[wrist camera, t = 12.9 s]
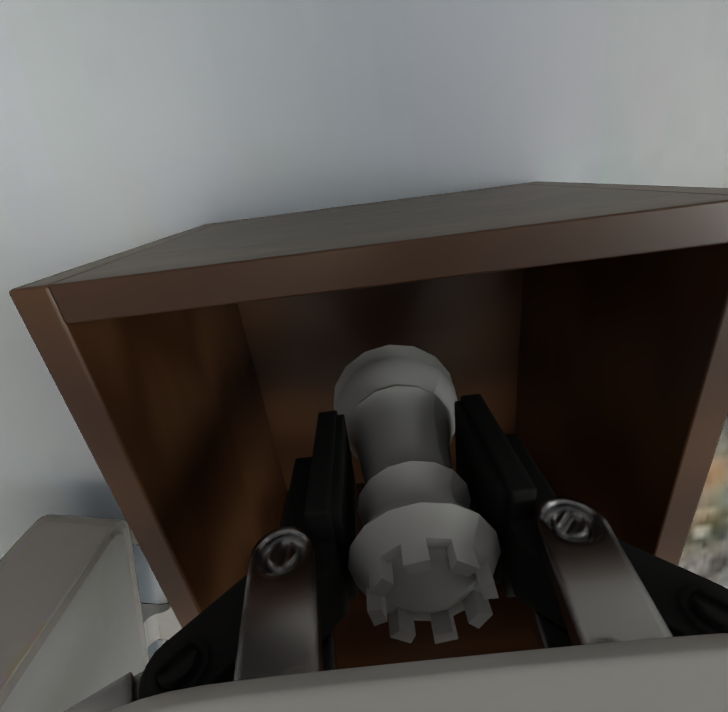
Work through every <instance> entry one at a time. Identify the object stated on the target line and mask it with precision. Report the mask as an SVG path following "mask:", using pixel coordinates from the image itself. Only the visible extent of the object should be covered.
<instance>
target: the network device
mask: <svg viewBox="0 0 728 712" xmlns="http://www.w3.org/2000/svg"><path fill="white" fill-rule="evenodd" d="M132 545H139V544H138V542H137V540H136V538H135V536H134V534H133V532H132V530H131V529H130V527H129V525H128V523H127V521H125V520H118V519H105V518H92V517H79V516H67V515H54V514H50V515H46V516H43V517H41V518H40V519H38V520H37V521H36V522H35V523H34V524H33V525H32V526H31V527H30V528H29V529H28V530H27V531H26V532H25V533H24V535H23V536H22V537H21V538H20V539H19V540H18V541H17V542H16V543H15V544H14V545H13V547H12V548H11V549H10V550H9V551H8V552H7V553H6V554H5V555H4V556H3V558H2V559H1V560H0V712H64V711H65V710H67V709H69V708H70V707H72V706H74V705H75V704H77V703H79V702H80V701H82V700H84V699H85V698H87V697H89V696H90V695H92V694H94V693H96V692H97V691H99V690H101V689H102V688H104V687H106V686H107V685H109V684H111V683H112V682H114V681H116V680H117V679H119V678H121V677H122V676H124V675H126V674H127V673H129V672H132V674H133V676H135V675H137V674H139V673H140V672H142V671H144V669H145V667H146V665H147V664H148V662H149V656H148V650H147V649H148V647H149V646H150V645H151V644H152V643H153V642H155V641H156V640H159V639H164V640H167V641H168V640H169V639H170V638H171V637H172V636H174V635H175V634H176V633H177V632H178V631H180V630H181V629H182V627H181V625H180V623H179V622H178V620H177V618H176V616H175V614H174V612H173V610H172V608H171V606H170V604H169V603H167V604H162V605H157V604H141V603H140V596H139V589H138V583H137V576H136V569H135V563H134V556H133V549H132Z"/></svg>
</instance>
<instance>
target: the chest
mask: <svg viewBox="0 0 728 712" xmlns="http://www.w3.org/2000/svg"><path fill="white" fill-rule="evenodd" d="M9 294H10V296H11V298H12V300H13V302H14V304H15V306H16V308H17V310H18V312H19V314H20V315H21V317H22V319H23V321H24V323H25V325H26V327H27V329H28V331H29V333H30V335H31V337H32V339H33V341H34V343H35V345H36V346H37V348H38V350H39V352H40V354H41V356H42V358H43V360H44V362H45V364H46V366H47V368H48V370H49V372H50V374H51V376H52V377H53V379H54V381H55V383H56V385H57V387H58V389H59V391H60V393H61V395H62V397H63V399H64V401H65V403H66V405H67V407H68V408H69V410H70V412H71V414H72V416H73V418H74V420H75V422H76V424H77V426H78V428H79V430H80V432H81V434H82V436H83V438H84V439H85V441H86V443H87V445H88V447H89V449H90V451H91V453H92V455H93V457H94V459H95V461H96V463H97V465H98V467H99V469H100V470H101V472H102V474H103V476H104V478H105V480H106V482H107V484H108V486H109V488H110V490H111V492H112V494H113V496H114V498H115V499H116V501H117V503H118V505H119V507H120V509H121V511H122V513H123V515H124V517H125V519H126V521H127V523H128V525H129V527H130V529H131V530H132V532H133V534H134V536H135V538H136V540H137V542H138V544H139V546H140V548H141V550H142V552H143V554H144V556H145V558H146V560H147V561H148V563H149V565H150V567H151V569H152V571H153V573H154V575H155V577H156V579H157V581H158V583H159V585H160V587H161V589H162V591H163V592H164V594H165V596H166V598H167V600H168V602H169V604H170V606H171V608H172V610H173V612H174V614H175V616H176V618H177V620H178V622H179V623H180V625H181V627H182V628H183V627H184V626H186V625H187V624H188V623H189V622H190V621H192V620H193V619H194V618H195V617H196V616H198V615H199V614H200V613H201V612H202V611H204V610H205V609H206V608H207V607H208V606H209V605H211V604H212V603H213V602H214V601H215V600H217V599H218V598H219V597H220V596H221V595H223V594H224V593H225V592H226V591H227V590H229V589H230V588H231V587H232V586H233V585H235V584H236V583H237V582H238V581H239V580H241V579H242V578H243V577H244V576H245V575H247V572H248V564H249V558H250V555H251V551H252V549H253V548H254V546H255V545H256V543H257V542H258V541H259V540H260V539H261V538H262V537H263V536H264V535H266V534H267V533H269V532H271V531H272V530H275V529H278V528H281V527H282V522H283V517H284V512H285V507H286V502H287V497H288V492H289V487H290V482H291V477H292V472H293V467H294V463H295V460H296V458H302V457H311V456H312V454H313V447H314V440H315V433H316V426H317V419H318V413H319V412H326V411H335V410H334V392H335V385H336V383H337V382H338V380H339V378H340V376H341V374H342V373H343V371H344V369H345V367H346V366H347V365H349V364H350V363H351V362H353V361H354V360H355V359H356V358H358V357H359V356H360V355H361V354H363V353H364V352H366V351H370V350H373V349H376V348H380V347H383V346H386V345H401V346H414V347H416V348H419V349H421V350H423V351H425V352H427V353H429V354H431V355H433V356H435V357H436V358H437V359H438V360H439V361H440V362H441V364H442V365H443V366H444V367H445V368H446V369H447V371H448V372H449V373H450V376H451V380H452V384H453V386H454V388H455V392H456V396H457V400H458V401H460V398H461V396H464V395H472V394H481V396H482V397H483V399H484V401H485V402H486V404H487V406H488V407H489V409H490V411H491V412H492V414H493V416H494V417H495V419H496V421H497V423H498V424H499V426H500V428H501V429H502V431H503V433H504V434H516V435H517V436H518V437H519V438H520V440H521V441H522V443H523V444H524V446H525V448H526V449H527V451H528V452H529V454H530V455H531V457H532V459H533V460H534V462H535V463H536V465H537V466H538V468H539V469H540V471H541V473H542V474H543V476H544V477H545V479H546V480H547V482H548V484H549V485H550V487H551V488H552V490H553V491H554V493H555V494H556V496H557V497H571V498H574V499H578V500H581V501H583V502H585V503H587V504H589V505H591V506H593V507H594V508H595V509H596V510H598V511H599V512H600V513H601V514H602V515H603V516H604V518H605V519H606V520H607V522H608V524H609V525H610V527H611V529H612V531H613V532H614V534H615V536H616V538H617V539H619V540H621V541H624V542H626V543H628V544H630V545H632V546H635V547H637V548H639V549H641V550H643V551H646V552H648V553H650V554H652V555H655V556H657V557H659V558H661V559H663V560H666V561H668V562H670V563H672V564H674V565H677V566H678V564H679V561H680V558H681V555H682V551H683V548H684V545H685V542H686V539H687V536H688V533H689V530H690V527H691V524H692V521H693V518H694V515H695V512H696V509H697V506H698V503H699V500H700V496H701V493H702V490H703V487H704V484H705V481H706V478H707V475H708V472H709V469H710V466H711V463H712V460H713V457H714V454H715V451H716V448H717V444H718V441H719V438H720V435H721V432H722V429H723V426H724V423H725V420H726V417H727V414H728V188H706V187H678V186H650V185H622V184H594V183H566V182H531V183H523V184H516V185H508V186H500V187H492V188H484V189H477V190H469V191H461V192H453V193H445V194H438V195H430V196H422V197H414V198H406V199H399V200H391V201H383V202H375V203H368V204H360V205H352V206H344V207H336V208H329V209H321V210H313V211H305V212H297V213H290V214H282V215H274V216H266V217H258V218H251V219H243V220H235V221H227V222H219V223H212V224H205V225H202V226H199V227H196V228H193V229H190V230H187V231H184V232H181V233H178V234H175V235H172V236H169V237H166V238H163V239H160V240H157V241H154V242H151V243H148V244H145V245H142V246H139V247H136V248H133V249H130V250H127V251H124V252H121V253H118V254H115V255H112V256H109V257H106V258H103V259H100V260H97V261H94V262H91V263H88V264H85V265H82V266H79V267H76V268H73V269H70V270H67V271H64V272H61V273H58V274H55V275H52V276H50V277H47V278H44V279H41V280H38V281H35V282H32V283H29V284H26V285H23V286H20V287H17V288H14V289H12V290H10V291H9ZM449 449H450V456H451V463H452V469H453V470H454V471H455V472H456V447H455V433H454V435H453V436H452V439H451V444H450V445H449ZM350 452H351V458H352V464H353V470H354V476H355V483H356V494H357V511H358V502H359V494H360V493H361V491H362V490H363V488H364V487H365V483H364V478H363V473H362V469H361V465H360V461H359V460H358V459H357V458H356V457H355V456H354V455H353V453H352V451H351V450H350ZM363 527H364V525H363V523H362V521H361V519H360V516H359V514H358V512H357V535H358V534H359V533H360V531H361V530H362V528H363ZM495 586H496V590H497V593H498V597H499V598H495V599H488V601H489V604H490V607H491V610H492V613H493V615H492V616H491V617H490V618H489V619H488V620H487V621H486V622H485V623H484V624H483V625H482V626H481V627H480V628H479V629H478V628H476V627H475V626H473V625H471V624H469V623H468V619H467V615H466V612H465V610H464V611H462V612H460V613H458V614H456V615H454V616H453V617H454V622H455V626H456V630H457V635H458V639H456V640H451V641H447V642H442V643H437V644H435V641H434V636H433V630H432V624H431V621H415V620H414V625H415V632H416V636H415V638H414V639H413V641H412V643H408V642H404V641H401V640H397V639H394V638H391V637H390V630H389V618H388V614H387V622H385V623H382V624H379V625H376V626H374V624H373V622H372V620H371V618H370V616H369V614H368V612H367V596H366V595H365V594H364V593H363V592H362V591H361V590H360V589H359V587H358V598H355V599H350V614H345V617H344V618H343V619H342V620H341V622H340V623H339V624H338V625H337V626H336V627H335V628H334V632H335V642H336V654H337V666H338V669H347V668H356V667H366V666H375V665H385V664H394V663H404V662H414V661H424V660H434V659H444V658H454V657H464V656H474V655H484V654H494V653H504V652H514V651H524V650H535V649H539V647H538V643H537V640H536V636H535V632H534V629H533V625H532V622H531V618H530V614H529V608H528V606H527V605H526V604H524V603H523V602H521V601H519V600H518V599H516V597H507V598H506V597H505V594H504V591H503V588H502V586H501V583H498V584H495Z"/></svg>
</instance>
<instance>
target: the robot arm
mask: <svg viewBox="0 0 728 712" xmlns="http://www.w3.org/2000/svg"><path fill="white" fill-rule="evenodd" d="M454 407H455V447H456V473H457V474H458V475H459V476H460V477H461V478H462V479H463V480H464V481H465V482H466V484H467V487H468V491H469V495H470V498H471V501H470V505H469V509H470V510H472V511H474V512H476V513H478V514H480V515H481V516H482V517H483V518H484V519H485V520H486V521H487V523H488V524H489V525H490V526H491V527H492V528H493V529H494V530H495V531H496V533H497V537H498V541H499V545H500V549H501V553H500V557H499V560H498V563H497V566H496V569H495V572H494V574H493V579H494V582H495V584H498V583H501V586H502V588H503V591H504V594H505V597H506V598H507V597H516V599H518V600H519V601H521V602H523V603H524V604H526V605H527V606H528V608H529V614H530V618H531V622H532V625H533V629H534V632H535V636H536V640H537V643H538V647H539V649H535V650H524V651H514V652H504V653H494V654H484V655H474V656H464V657H454V658H444V659H434V660H424V661H414V662H404V663H394V664H385V665H375V666H366V667H356V668H347V669H338V666H337V654H336V642H335V632H334V628H335V627H336V626H337V625H338V624H339V623H340V622H341V620H342V619H343V618H344V617H345V614H350V599H355V598H358V586H357V585H356V583H355V581H354V579H353V577H352V575H351V573H350V571H349V569H348V561H349V551H350V545H351V544H352V543H353V541H354V540H355V538H356V537H357V494H356V483H355V476H354V470H353V464H352V458H351V452H350V446H349V440H348V434H347V428H346V422H345V416H344V414H341V415H338V413H337V410H335V411H326V412H319V413H318V419H317V426H316V433H315V440H314V447H313V454H312V456H311V457H302V458H296V460H295V463H294V467H293V472H292V477H291V482H290V487H289V492H288V497H287V502H286V507H285V512H284V517H283V522H282V527H281V528H278V529H275V530H272V531H271V532H269V533H267V534H266V535H264V536H263V537H262V538H261V539H260V540H259V541H258V542H257V543H256V545H255V546H254V548H253V549H252V551H251V555H250V558H249V564H248V572H247V575H245V576H244V577H243V578H242V579H241V580H239V581H238V582H237V583H236V584H235V585H233V586H232V587H231V588H230V589H229V590H227V591H226V592H225V593H224V594H223V595H221V596H220V597H219V598H218V599H217V600H215V601H214V602H213V603H212V604H211V605H209V606H208V607H207V608H206V609H205V610H204V611H202V612H201V613H200V614H199V615H198V616H196V617H195V618H194V619H193V620H192V621H190V622H189V623H188V624H187V625H186V626H184V627H183V628H182V629H181V630H180V631H178V632H177V633H176V634H175V635H174V636H172V637H171V638H170V639H169V640H168V641H166V642H165V643H164V644H163V645H162V646H161V647H160V648H159V649H158V650H157V651H156V652H155V653H154V655H153V656H152V658H151V659H150V661H149V662H148V664H147V665H146V667H145V669H144V671H142V672H140V673H139V674H137V675H135V676H133V674H132V672H129V673H127V674H126V675H124V676H122V677H121V678H119V679H117V680H116V681H114V682H112V683H111V684H109V685H107V686H106V687H104V688H102V689H101V690H99V691H97V692H96V693H94V694H92V695H90V696H89V697H87V698H85V699H84V700H82V701H80V702H79V703H77V704H75V705H74V706H72V707H70V708H69V709H67V710H65V711H64V712H728V589H726V588H725V587H723V586H721V585H719V584H716V583H714V582H712V581H710V580H708V579H705V578H703V577H701V576H699V575H697V574H694V573H692V572H690V571H688V570H686V569H683V568H681V567H679V566H677V565H674V564H672V563H670V562H668V561H666V560H663V559H661V558H659V557H657V556H655V555H652V554H650V553H648V552H646V551H643V550H641V549H639V548H637V547H635V546H632V545H630V544H628V543H626V542H624V541H621V540H619V539H617V538H616V536H615V534H614V532H613V531H612V529H611V527H610V525H609V524H608V522H607V520H606V519H605V518H604V516H603V515H602V514H601V513H600V512H599V511H598V510H596V509H595V508H594V507H593V506H591V505H589V504H587V503H585V502H583V501H581V500H578V499H574V498H571V497H557V496H556V494H555V493H554V491H553V490H552V488H551V487H550V485H549V484H548V482H547V480H546V479H545V477H544V476H543V474H542V473H541V471H540V469H539V468H538V466H537V465H536V463H535V462H534V460H533V459H532V457H531V455H530V454H529V452H528V451H527V449H526V448H525V446H524V444H523V443H522V441H521V440H520V438H519V437H518V436H517V435H516V434H504V433H503V431H502V429H501V428H500V426H499V424H498V423H497V421H496V419H495V417H494V416H493V414H492V412H491V411H490V409H489V407H488V406H487V404H486V402H485V401H484V399H483V397H482V396H481V394H472V395H464V396H461V398H460V401H455V406H454Z"/></svg>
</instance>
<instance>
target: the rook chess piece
mask: <svg viewBox="0 0 728 712" xmlns="http://www.w3.org/2000/svg"><path fill="white" fill-rule="evenodd" d="M455 401H458V400H457V396H456V392H455V388H454V386H453V384H452V380H451V376H450V373H449V372H448V371H447V369H446V368H445V367H444V366H443V365H442V364H441V362H440V361H439V360H438V359H437V358H436V357H435V356H433V355H431V354H429V353H427V352H425V351H423V350H421V349H419V348H416V347H414V346H401V345H386V346H383V347H380V348H376V349H373V350H370V351H366V352H364V353H363V354H361V355H360V356H359V357H358V358H356V359H355V360H354V361H353V362H351V363H350V364H349V365H347V366H346V367H345V369H344V371H343V373H342V374H341V376H340V378H339V380H338V382H337V383H336V385H335V392H334V410H337V413H338V415H341V414H344V416H345V422H346V428H347V434H348V440H349V446H350V450H351V451H352V453H353V455H354V456H355V457H356V458H357V459H358V460H359V461H360V465H361V469H362V473H363V478H364V483H365V487H364V488H363V490H362V491H361V493H360V494H359V502H358V511H357V512H358V514H359V516H360V519H361V521H362V523H363V525H364V527H363V528H362V530H361V531H360V533H359V534H358V535H357V537H356V538H355V540H354V541H353V543H352V544H351V545H350V551H349V561H348V569H349V571H350V573H351V575H352V577H353V579H354V581H355V583H356V585H357V586H358V587H359V589H360V590H361V591H362V592H363V593H364V594H365V595H366V596H367V612H368V614H369V616H370V618H371V620H372V622H373V624H374V626H376V625H379V624H382V623H385V622H387V614H388V618H389V630H390V637H391V638H394V639H397V640H401V641H404V642H408V643H412V641H413V639H414V638H415V636H416V632H415V625H414V620H415V621H431V624H432V630H433V636H434V641H435V644H437V643H442V642H447V641H451V640H456V639H458V635H457V630H456V626H455V622H454V617H453V616H454V615H456V614H458V613H460V612H462V611H464V610H465V612H466V615H467V619H468V623H469V624H471V625H473V626H475V627H476V628H478V629H479V628H480V627H481V626H482V625H483V624H484V623H485V622H486V621H487V620H488V619H489V618H490V617H491V616H492V615H493V613H492V610H491V607H490V604H489V601H488V599H495V598H499V597H498V593H497V590H496V586H495V582H494V579H493V574H494V572H495V569H496V566H497V563H498V560H499V557H500V553H501V549H500V545H499V541H498V537H497V533H496V531H495V530H494V529H493V528H492V527H491V526H490V525H489V524H488V523H487V521H486V520H485V519H484V518H483V517H482V516H481V515H480V514H478V513H476V512H474V511H472V510H470V509H469V505H470V501H471V498H470V495H469V491H468V487H467V484H466V482H465V481H464V480H463V479H462V478H461V477H460V476H459V475H458V474H457V473H456V472H455V471H454V470H453V469H452V463H451V456H450V449H449V445H450V444H451V439H452V436H453V435H454V433H455V407H454V406H455Z"/></svg>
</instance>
